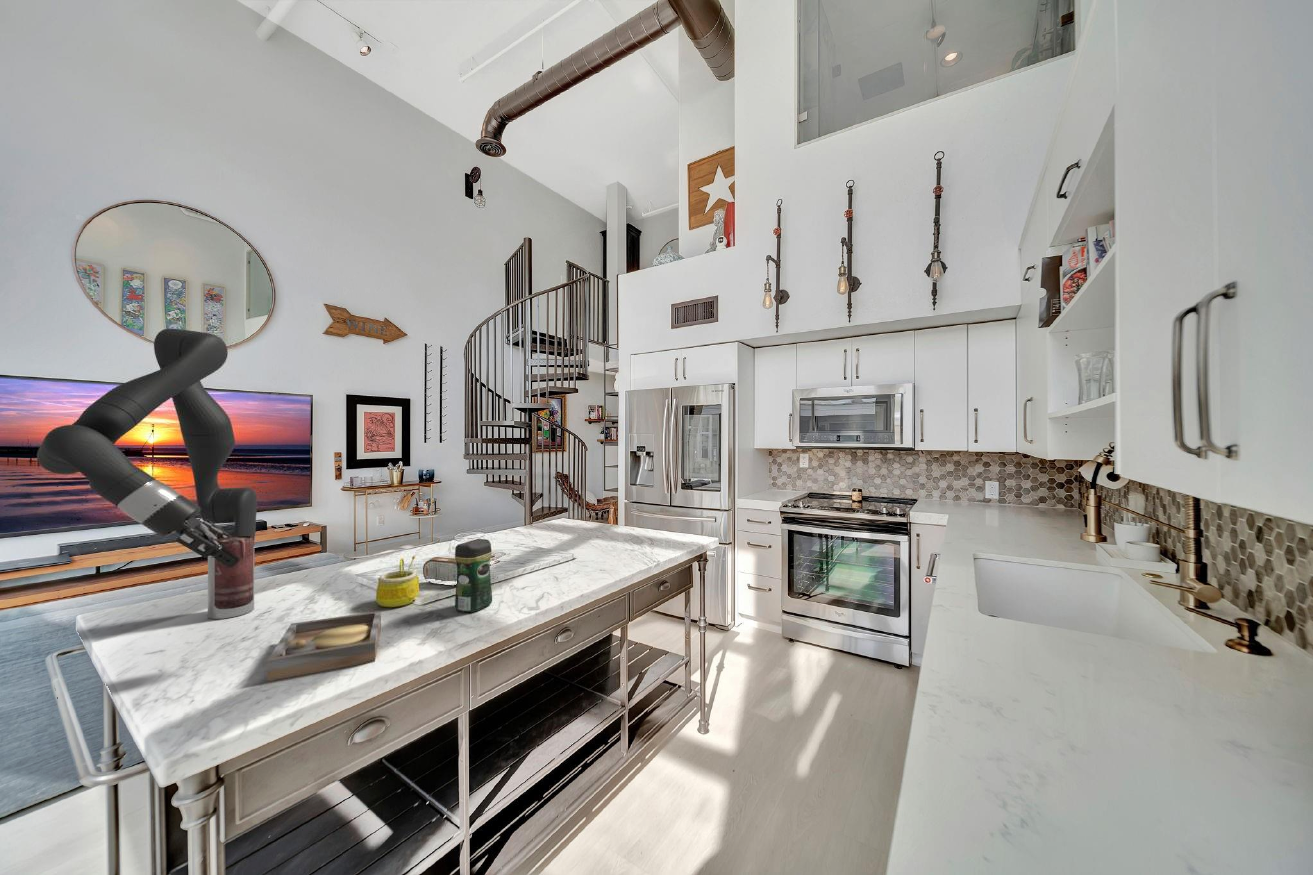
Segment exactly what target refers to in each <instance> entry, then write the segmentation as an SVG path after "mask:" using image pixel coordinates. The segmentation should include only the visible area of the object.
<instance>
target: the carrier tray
mask: <svg viewBox="0 0 1313 875" xmlns="http://www.w3.org/2000/svg"><path fill="white" fill-rule="evenodd" d="M381 628H382V610H377V611H370V612H362V613H355V614H351V615H350V614H349V615H344V616H343V615H342V616H335V617H328V618H322V619H313V620H309V621H307V620H306V621H300V622H299V621H298V622H294V623H290V625H289V626H288V627H287V629H286V631H285V633H284V634H283V636H282V637H281V638H280V639H279V642H278V643H277V645H276V646H275V648H274V649H273V651H271V652H272V653H271V654H270V656H269V657H268V658H267V660H266V682H272V681H277V680H283V679H288V678H293V677H299V676H303V675H308V674H314V673H319V672H326V671H330V670H331V671H332V670H336V669H342V668H347V667H353V666H358V665H363V664H368V663H374V662H376V657H377V652H378V647H379V640H380V635H381Z"/></svg>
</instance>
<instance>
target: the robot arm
mask: <svg viewBox="0 0 1313 875" xmlns="http://www.w3.org/2000/svg"><path fill="white" fill-rule="evenodd" d="M153 350H154V351H153V352H154V355H155V358H156V362H157V364H158V366H159V368H160V369H159V370H158V369H157V370H155V371H154V372H151V373H148V374H145V375H142V376H139V377H136V378H134V379H131V380H129V381H126V382H124V383H121V384H119V385H118V386H116V387H113V388H112V389H111V390H108V392H106V393H105V394H103V395H101V397H100V398H98V399H97V400H95V401H94V402H93V403H91V404H90V405H89V406H88V407H87V408H86V409H85V410H84V411H83V412H82V413H81V414H80V416H79V417H78V419H77V420H76V421H74V422H73V423H72V424H65V425H61V426H60V425H59V426H57V427H55V428H53V429H52V430H50V431H49V432H47V434H46V435H45V437H44V438H43V440H42V442H41V444H40V446H39V448H38V449H37V453H36V458H37V462H38V464H39V465H40V466H41V467H42V468H43V469H44V470H46V471H48V472H51V473H53V474H59V475H71V474H77V473H81V475H83V476H84V477H85V478H86V479H87V480H88V482H89V487H90V489H91V490H92V491H93V492H94V493H96V495H98V496H100V497H101V498H103V499H104V500H106V501H107V502H109V503H110V504H112V505H114V506H115V507H117V508H118V509H120V510H121V511H122V512H123V513H124V514H125V515H127V516H128V517H129V518H131V519H133V520H134V521H136V522H137V523H139V524H141V526H144V527H145V528H147V529H149V531H151V532H153V533H155V534H156V535H158V536H160V537H161V538H166V537H168V536H170V535H171V534H173V533H176V534H177V535H178V537H177V538H176V539H175V541H176V542H177V543H178V544H180V545H182V546H184V547H185V548H187V549H189V550H191V551H192V552H194V553H196V554H197V555H199V556H201V557H202V558H204V559H207V618H208V619H214V620H219V619H220V620H221V619H230V618H234V617H239V616H242V615H245V614H248V613H250V612H252V611H254V609H255V561H254V562H253V600H252V601H251V603H249V604H247V605H245V606H241V607H238V608H232V609H218V608H216V607H215V606H214V586H215V559H216V560H218V561H220V562H221V563H223V564H224V565H226V566H227V567H229V568H231V567H233V566H234V565H235V564H236V563H238V562H239V561H240V558H239V557H237V556H236V555H234V554H232V553H231V552H229V551H228V550H227V549H225V548H224V549H223V546H222V545H220V544H219V543H218V542H217V540H218V539H221V538H226V537H233V536H251V537H252V539H253V541H254V542H255V539H256V538H255V537H256V530H257V529H256V528H257V526H256V524H257V522H256V521H257V511H258V498H257V494H256V491H255V490H253V488H250V487H249V488H248V487H232V488H231V487H229V488H228V487H227V488H225V487H224V488H221V487H220V486H219V481H218V477H219V473H220V470H221V468H222V467H223V465H224V463H225V462H226V461H227V460H228V459H229V456H230V455H231V454H232V452H233V450H234V448H235V445H236V440H235V439H236V438H235V434H234V430H233V424H232V421H231V418H230V417H229V415H228V414H227V412H226V411H225V410H224V409H223V407H222V406H221V405H220V403H218V402H217V401H216V400H215V399H214V398H213V397H212V396H211V395H210V394H209V392H208V391H207V390H206V389H205V387H204V385H203V384H202V382H201V380H203V379H205V378H207V377H209V376H210V375H212V374H213V373H215V372H216V371H219V369H221V368H222V367H223V366H224V364H225V363H226V361H227V359H228V354H229V352H228V351H229V350H228V347H227V344H226V343H225V341H224V340H223V339H222V338H221V337H220V336H217V335H215V334H213V333H208V332H202V331H196V330H188V329H182V328H181V329H180V328H165V329H162V330H160V331H159V332H157V334H156V336H155V338H154V342H153ZM170 399H172V402H173V406H174V409H175V412H176V415H177V419H178V423H179V427H180V433H181V437H182V440H183V444H184V447H185V449H186V453H187V455H188V456H187V457H188V460H189V462H190V463H189V464H190V467H191V470H192V475H193V482H194V487H195V496H196V503H197V504H196V503H194V502H193V501H191V500H190V499H188V498H187V497H186V496H184V495H182V494H181V493H180V492H178V491H176V489H174V488H172V487H171V486H169V485H167V484H165V483H163V482H161V481H159V480H158V479H156V478H154V476H152V475H150V474H149V473H148V472H146V471H144V470H143V469H141V468H140V467H139V466H137V465H135V464H134V463H133V462H132V461H131V460H130V459H129V458H128V456H126V455H125V453H123V452H122V451H121V450H120V449H119V447H118V446H116V445H115V444H116V442H118V441H119V440H120V438H122V437H123V436H124V435H125V434H127V433H129V432H130V431H131V430H132V429H134V428H136V426H137V425H139V424H140V423H141V422H142V421H143V420H144V419H145V418H147V417H148V416H149V415H151V413H153V412H154V411H155V410H156V409H158V408H160V406H161V405H163V404H165V403H167V401H169V400H170ZM197 514H199V516H200V518H201V519H202V520H200V519H198V518H196V517H195V516H197ZM218 524H234V526H233V529H232V530H231V531H229V532H226V531H225V530H223V529H222V528H221V527H219V526H218ZM222 549H223V550H222Z"/></svg>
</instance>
